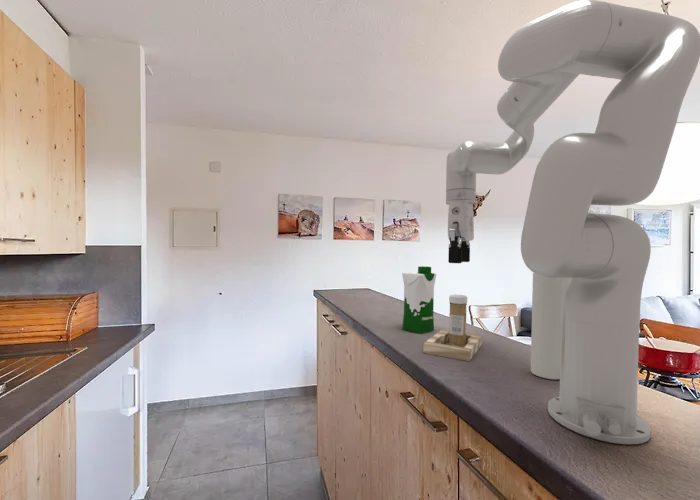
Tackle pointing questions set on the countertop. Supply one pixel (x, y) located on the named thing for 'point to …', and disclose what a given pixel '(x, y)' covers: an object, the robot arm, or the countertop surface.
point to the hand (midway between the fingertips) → (459, 262)
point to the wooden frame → (462, 353)
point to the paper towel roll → (547, 325)
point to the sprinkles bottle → (457, 320)
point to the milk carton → (419, 300)
